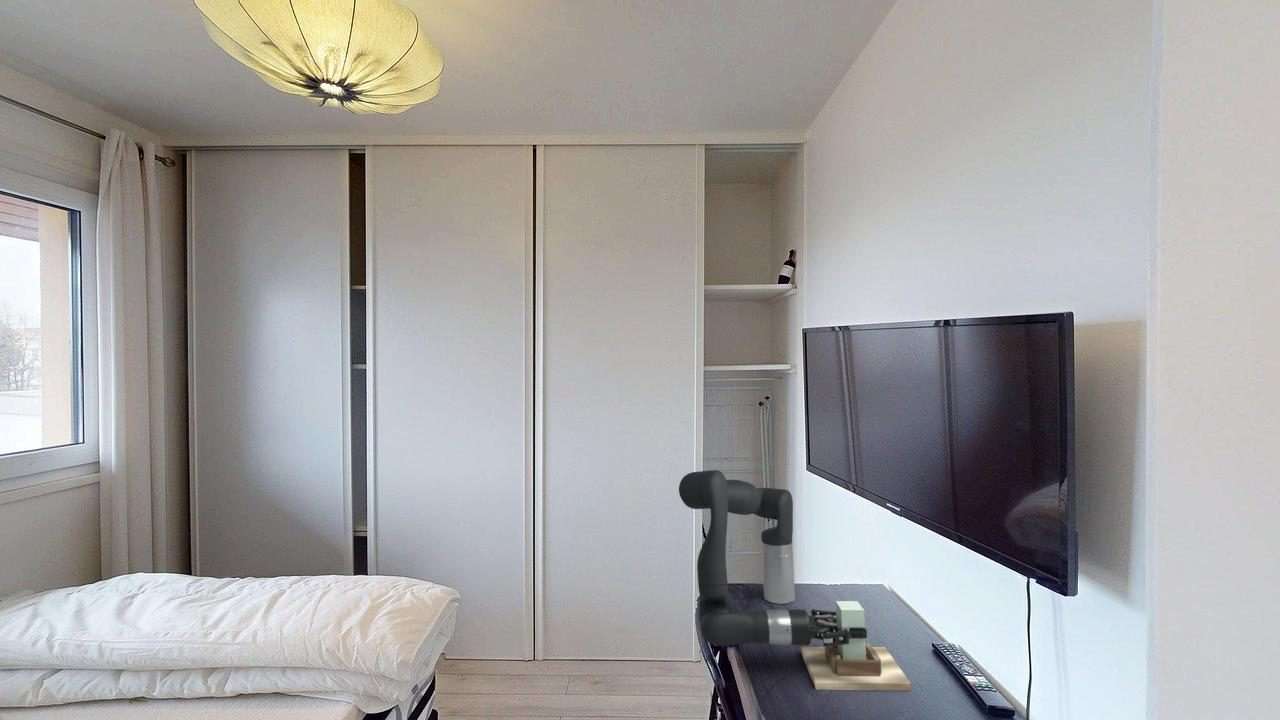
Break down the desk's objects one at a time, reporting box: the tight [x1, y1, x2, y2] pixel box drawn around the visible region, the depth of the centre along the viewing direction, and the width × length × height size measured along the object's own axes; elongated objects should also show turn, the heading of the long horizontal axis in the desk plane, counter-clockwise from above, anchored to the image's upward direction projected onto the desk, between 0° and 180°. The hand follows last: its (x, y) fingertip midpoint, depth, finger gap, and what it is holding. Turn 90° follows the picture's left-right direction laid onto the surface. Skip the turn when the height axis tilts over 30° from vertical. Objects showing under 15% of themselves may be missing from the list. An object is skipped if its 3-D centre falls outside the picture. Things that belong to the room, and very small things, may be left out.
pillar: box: [835, 600, 867, 660], centre depth 129 cm, size 5×5×12 cm
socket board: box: [800, 640, 912, 692], centre depth 129 cm, size 16×20×4 cm
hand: (862, 627), depth 129 cm, fingers closed on pillar, 5 cm apart
